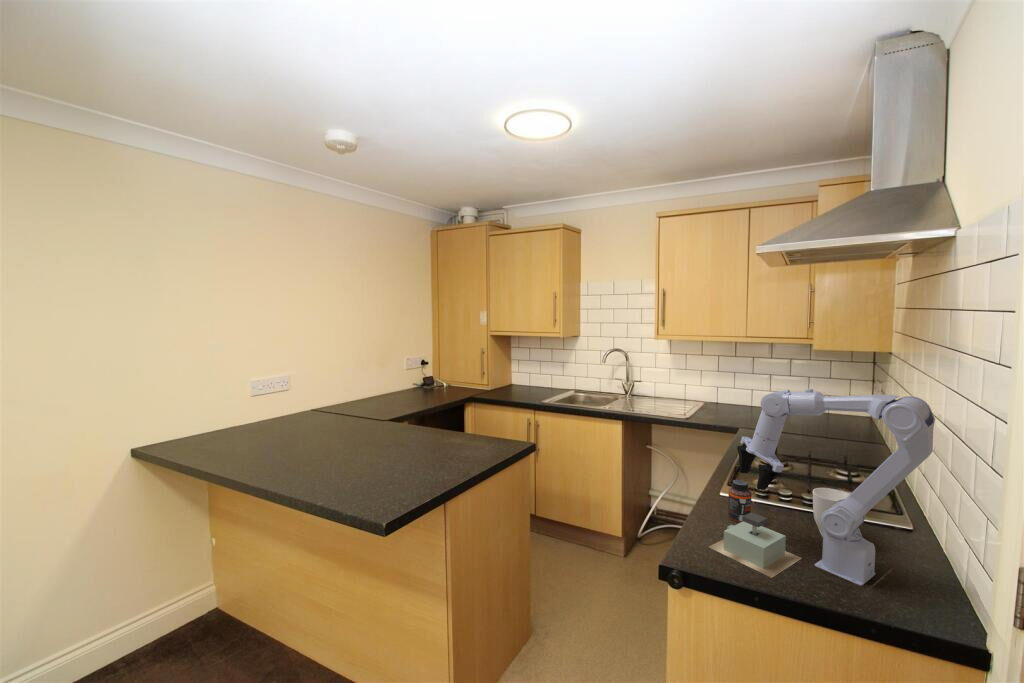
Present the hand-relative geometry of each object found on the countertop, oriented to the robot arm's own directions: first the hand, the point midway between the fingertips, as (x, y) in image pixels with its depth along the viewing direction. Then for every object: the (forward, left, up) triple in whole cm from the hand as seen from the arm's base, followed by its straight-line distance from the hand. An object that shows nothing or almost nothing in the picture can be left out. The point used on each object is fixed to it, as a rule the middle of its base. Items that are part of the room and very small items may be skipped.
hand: (751, 480), depth 120 cm
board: (-5, +8, -15) cm, 18 cm away
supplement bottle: (+7, -6, -16) cm, 18 cm away
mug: (-12, -18, -15) cm, 27 cm away
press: (-5, +8, -15) cm, 18 cm away
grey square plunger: (-5, +8, -11) cm, 15 cm away
